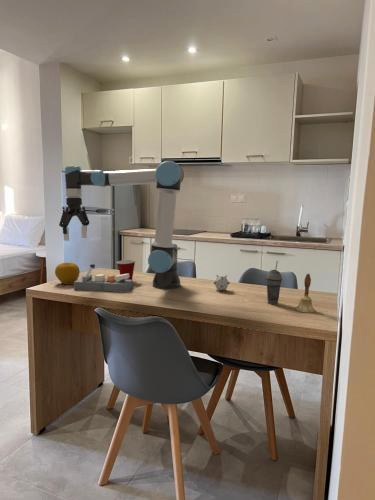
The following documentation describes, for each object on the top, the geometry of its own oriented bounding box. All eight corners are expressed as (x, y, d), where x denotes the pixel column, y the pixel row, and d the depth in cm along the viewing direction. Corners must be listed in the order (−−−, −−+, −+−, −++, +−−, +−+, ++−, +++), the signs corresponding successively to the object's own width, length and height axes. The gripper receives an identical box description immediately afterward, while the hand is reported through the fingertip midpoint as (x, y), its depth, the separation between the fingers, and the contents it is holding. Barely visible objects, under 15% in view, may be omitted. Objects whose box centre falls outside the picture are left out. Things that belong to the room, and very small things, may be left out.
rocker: (129, 276, 188) (128, 273, 188) (127, 278, 184) (126, 274, 184) (118, 278, 189) (117, 275, 189) (115, 280, 185) (114, 276, 185)
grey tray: (132, 287, 192) (132, 275, 191) (127, 291, 182) (127, 279, 181) (82, 284, 195) (81, 273, 195) (74, 289, 186) (73, 277, 185)
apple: (66, 287, 190) (65, 266, 188) (50, 284, 196) (49, 263, 195) (85, 282, 201) (84, 262, 199) (69, 279, 207) (68, 260, 206)
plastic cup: (119, 279, 210) (118, 258, 209) (137, 279, 210) (137, 259, 208) (114, 283, 200) (114, 262, 198) (134, 284, 199) (133, 262, 197)
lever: (90, 279, 192) (97, 264, 190) (86, 281, 187) (93, 265, 185) (86, 277, 192) (92, 262, 190) (82, 279, 187) (89, 263, 185)
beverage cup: (269, 300, 171) (271, 258, 168) (283, 303, 167) (285, 260, 164) (261, 303, 166) (263, 260, 163) (276, 306, 161) (278, 262, 158)
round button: (115, 282, 190) (115, 274, 189) (113, 284, 186) (113, 276, 185) (108, 282, 190) (108, 274, 189) (106, 284, 186) (106, 276, 186)
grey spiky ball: (217, 297, 188) (207, 280, 191) (230, 290, 192) (220, 274, 194) (222, 293, 180) (212, 275, 182) (236, 285, 184) (225, 268, 186)
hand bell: (305, 306, 162) (307, 271, 160) (319, 311, 155) (322, 275, 153) (291, 308, 158) (293, 273, 156) (305, 314, 151) (307, 276, 149)
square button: (104, 282, 190) (104, 274, 190) (102, 283, 187) (102, 275, 186) (97, 281, 191) (97, 274, 190) (95, 283, 187) (95, 275, 186)
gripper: (83, 197, 196) (85, 236, 199) (50, 197, 173) (52, 241, 176) (95, 197, 193) (96, 237, 196) (62, 197, 170) (64, 242, 173)
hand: (75, 239), depth 186 cm, fingers open, 13 cm apart
